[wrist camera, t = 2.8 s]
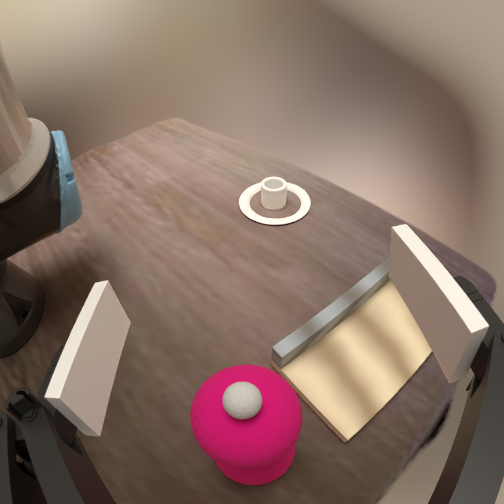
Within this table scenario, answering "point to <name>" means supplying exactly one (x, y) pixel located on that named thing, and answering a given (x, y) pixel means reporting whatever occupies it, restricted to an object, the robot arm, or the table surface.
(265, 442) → the pepper mill
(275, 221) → the candle holder
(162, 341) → the table surface
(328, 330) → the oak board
